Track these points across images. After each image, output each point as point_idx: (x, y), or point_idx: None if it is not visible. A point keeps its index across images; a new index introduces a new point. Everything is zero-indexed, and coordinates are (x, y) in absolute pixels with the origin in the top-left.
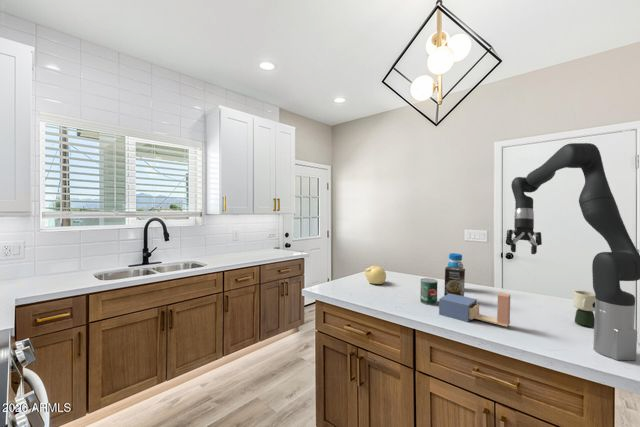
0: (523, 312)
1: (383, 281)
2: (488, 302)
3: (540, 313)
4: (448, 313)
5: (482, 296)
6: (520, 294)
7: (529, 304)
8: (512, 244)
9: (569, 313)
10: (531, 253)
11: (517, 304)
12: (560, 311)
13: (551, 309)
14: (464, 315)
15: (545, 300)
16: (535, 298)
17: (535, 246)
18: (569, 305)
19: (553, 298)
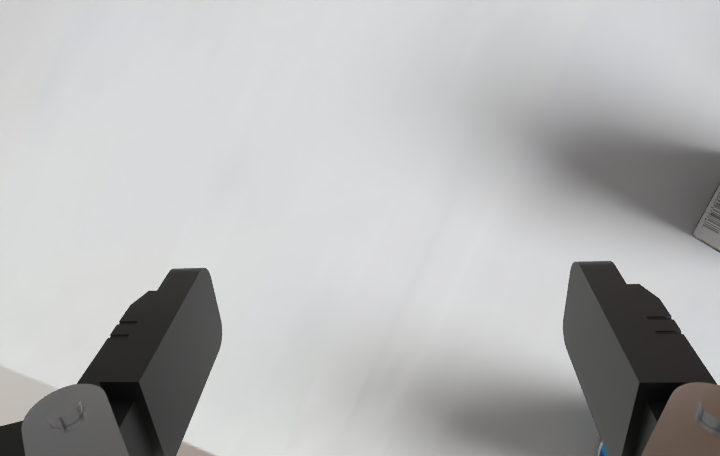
0: (400, 22)
1: None
2: (546, 202)
3: (290, 22)
4: None
5: (526, 325)
6: (248, 408)
7: (280, 208)
8: (717, 388)
9: (91, 60)
10: (220, 335)
11: (362, 193)
12: (134, 93)
13: (176, 126)
14: None
15: None
16: None
17: (106, 377)
18: (21, 234)
19: (66, 361)
